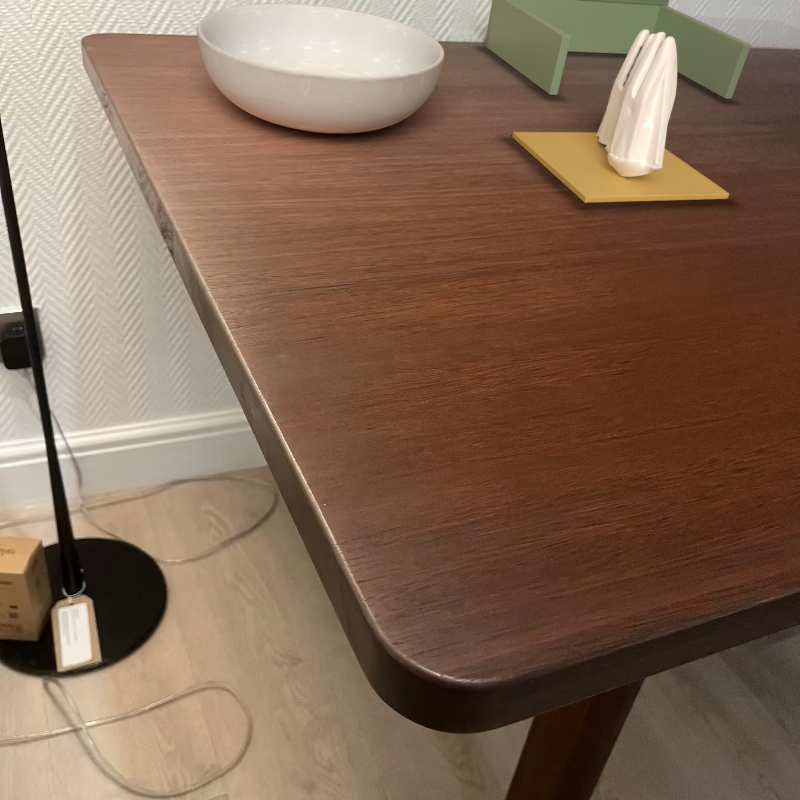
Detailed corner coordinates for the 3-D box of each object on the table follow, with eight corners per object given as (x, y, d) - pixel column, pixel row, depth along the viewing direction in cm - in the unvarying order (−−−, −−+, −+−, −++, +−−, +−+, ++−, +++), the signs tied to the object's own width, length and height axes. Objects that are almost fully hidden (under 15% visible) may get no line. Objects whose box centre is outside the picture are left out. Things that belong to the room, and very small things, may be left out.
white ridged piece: (656, 191, 67) (703, 51, 60) (605, 183, 67) (647, 42, 60) (638, 141, 76) (677, 15, 69) (594, 134, 76) (628, 7, 69)
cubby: (648, 52, 107) (664, -4, 103) (731, 99, 94) (754, 37, 90) (483, 45, 100) (494, -15, 95) (549, 95, 86) (565, 27, 82)
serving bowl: (151, 95, 71) (146, 11, 67) (329, 68, 84) (334, -4, 80) (303, 181, 61) (308, 88, 57) (480, 135, 74) (495, 56, 70)
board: (640, 137, 79) (642, 132, 79) (727, 199, 69) (729, 193, 68) (511, 137, 74) (512, 131, 74) (584, 203, 64) (586, 197, 64)
